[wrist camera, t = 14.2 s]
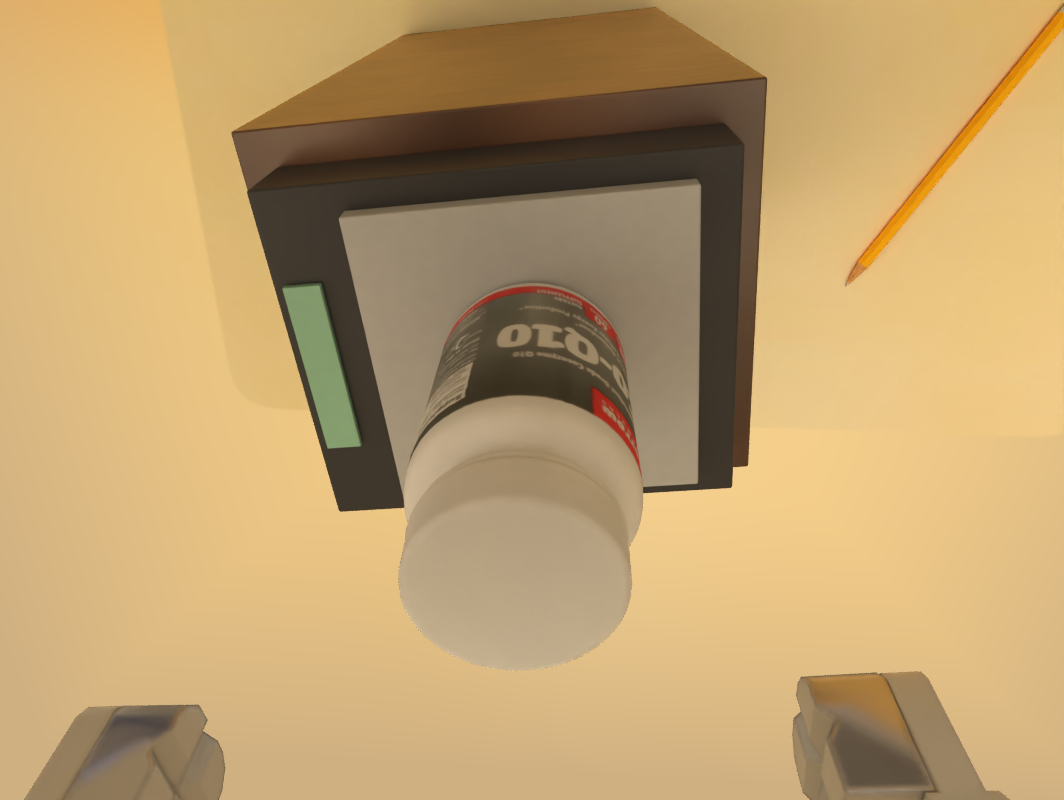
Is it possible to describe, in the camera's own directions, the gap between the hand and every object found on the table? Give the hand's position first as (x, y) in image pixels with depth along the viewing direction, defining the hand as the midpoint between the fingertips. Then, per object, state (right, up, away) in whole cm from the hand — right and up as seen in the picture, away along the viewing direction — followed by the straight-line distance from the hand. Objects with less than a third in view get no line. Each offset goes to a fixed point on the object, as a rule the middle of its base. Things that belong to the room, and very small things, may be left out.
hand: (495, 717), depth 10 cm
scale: (0, +7, +12) cm, 14 cm away
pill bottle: (+1, +5, +10) cm, 11 cm away
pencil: (+25, +19, +35) cm, 47 cm away
